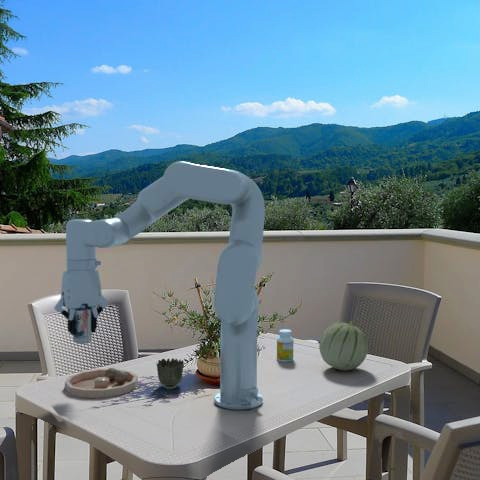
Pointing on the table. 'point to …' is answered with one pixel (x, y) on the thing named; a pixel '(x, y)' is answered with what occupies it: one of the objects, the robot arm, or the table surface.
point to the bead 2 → (120, 377)
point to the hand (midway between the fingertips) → (82, 332)
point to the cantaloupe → (343, 346)
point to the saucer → (98, 384)
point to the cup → (170, 372)
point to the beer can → (83, 324)
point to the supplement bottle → (285, 346)
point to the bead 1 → (110, 373)
